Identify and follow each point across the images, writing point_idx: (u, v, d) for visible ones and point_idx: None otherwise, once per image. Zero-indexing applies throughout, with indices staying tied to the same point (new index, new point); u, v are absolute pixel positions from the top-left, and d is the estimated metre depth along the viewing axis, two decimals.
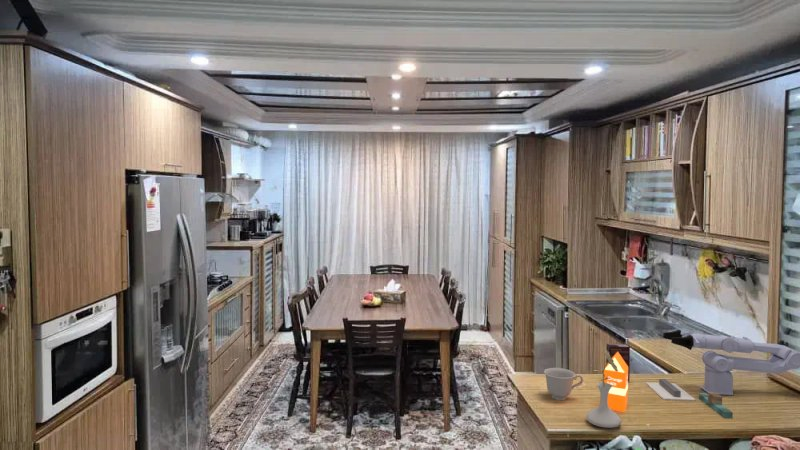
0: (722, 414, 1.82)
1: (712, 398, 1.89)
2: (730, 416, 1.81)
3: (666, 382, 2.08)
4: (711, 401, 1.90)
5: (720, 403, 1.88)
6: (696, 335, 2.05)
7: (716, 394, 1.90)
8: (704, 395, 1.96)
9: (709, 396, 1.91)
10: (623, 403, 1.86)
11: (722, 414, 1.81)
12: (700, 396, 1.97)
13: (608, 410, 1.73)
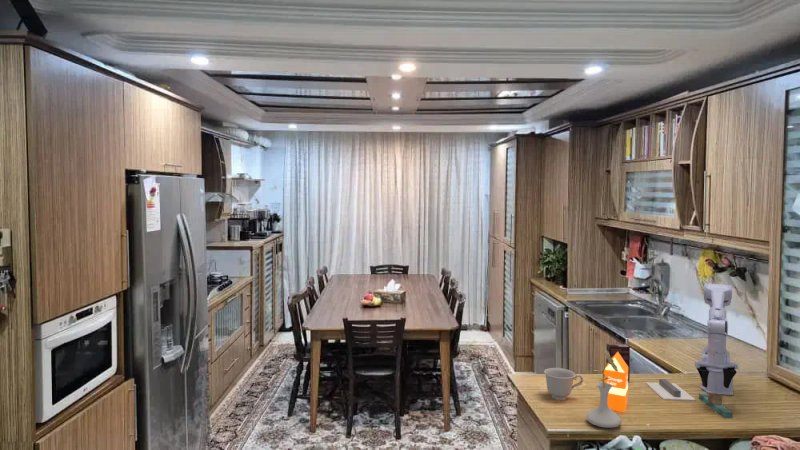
0: (722, 414, 1.82)
1: (712, 398, 1.89)
2: (730, 416, 1.81)
3: (666, 382, 2.08)
4: (711, 401, 1.90)
5: (720, 403, 1.88)
6: (723, 361, 1.86)
7: (716, 394, 1.90)
8: (704, 395, 1.96)
9: (709, 396, 1.91)
10: (623, 403, 1.86)
11: (722, 414, 1.81)
12: (700, 396, 1.97)
13: (608, 410, 1.73)
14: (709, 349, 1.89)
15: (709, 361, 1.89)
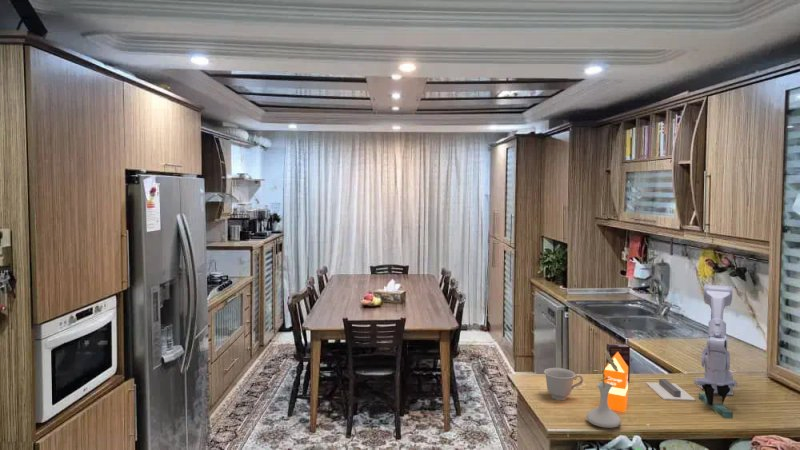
0: (722, 414, 1.82)
1: None
2: (730, 416, 1.81)
3: (666, 382, 2.08)
4: None
5: (720, 403, 1.88)
6: (723, 379, 1.87)
7: (716, 394, 1.90)
8: (704, 395, 1.96)
9: None
10: (623, 403, 1.86)
11: (722, 414, 1.81)
12: (700, 396, 1.97)
13: (608, 410, 1.73)
14: (708, 366, 1.89)
15: (708, 378, 1.89)
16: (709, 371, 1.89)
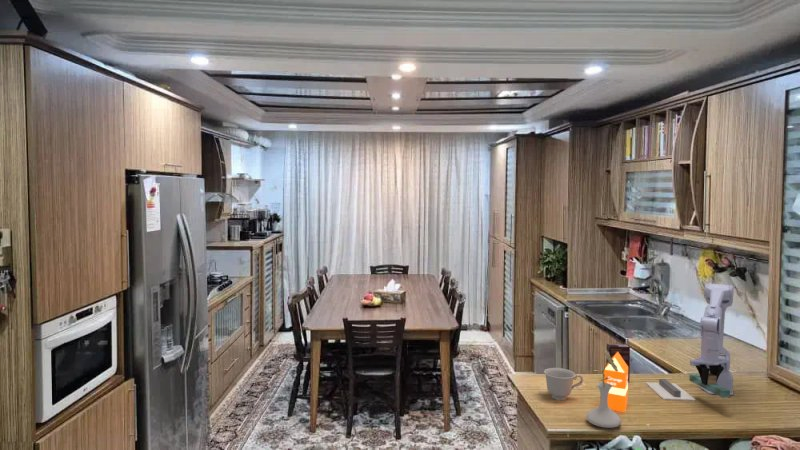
0: (720, 393, 1.83)
1: None
2: (728, 394, 1.83)
3: (666, 382, 2.08)
4: None
5: (714, 382, 1.90)
6: (717, 358, 1.89)
7: (710, 374, 1.92)
8: (695, 376, 1.98)
9: None
10: (623, 403, 1.86)
11: (721, 393, 1.83)
12: (691, 377, 1.99)
13: (608, 410, 1.73)
14: (702, 346, 1.91)
15: (703, 359, 1.90)
16: (704, 351, 1.90)
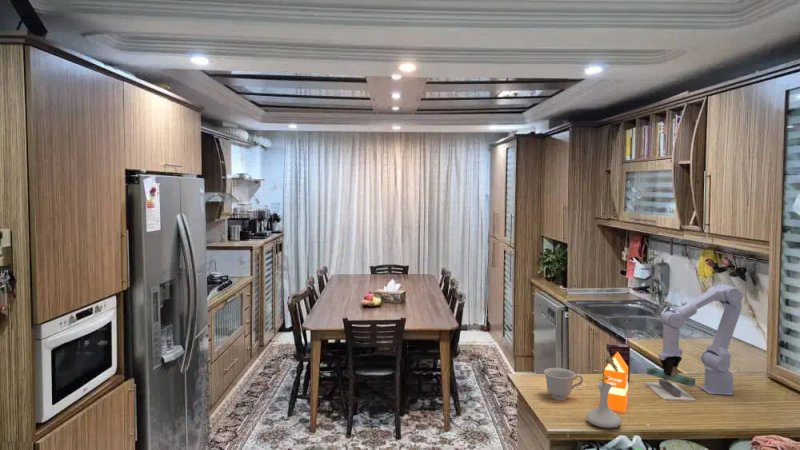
0: (689, 382, 1.98)
1: None
2: (694, 383, 1.98)
3: (666, 382, 2.08)
4: None
5: (676, 373, 2.04)
6: (678, 349, 2.04)
7: None
8: (653, 369, 2.11)
9: None
10: (623, 403, 1.86)
11: (689, 382, 1.97)
12: (650, 370, 2.11)
13: (608, 410, 1.73)
14: None
15: (668, 352, 2.03)
16: (669, 345, 2.03)
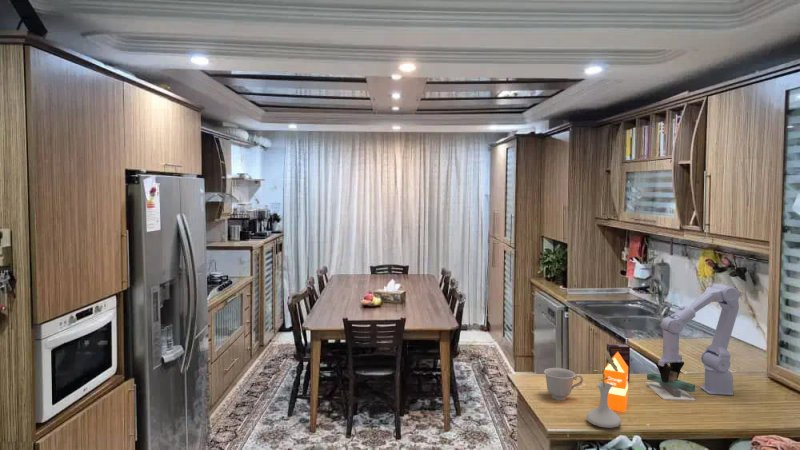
0: (688, 388, 1.98)
1: (670, 376, 2.04)
2: (694, 389, 1.98)
3: None
4: (669, 379, 2.04)
5: (676, 378, 2.04)
6: None
7: (670, 371, 2.05)
8: (653, 374, 2.11)
9: None
10: (623, 403, 1.86)
11: (689, 388, 1.97)
12: (650, 376, 2.11)
13: (608, 410, 1.73)
14: None
15: (668, 358, 2.03)
16: (669, 351, 2.03)
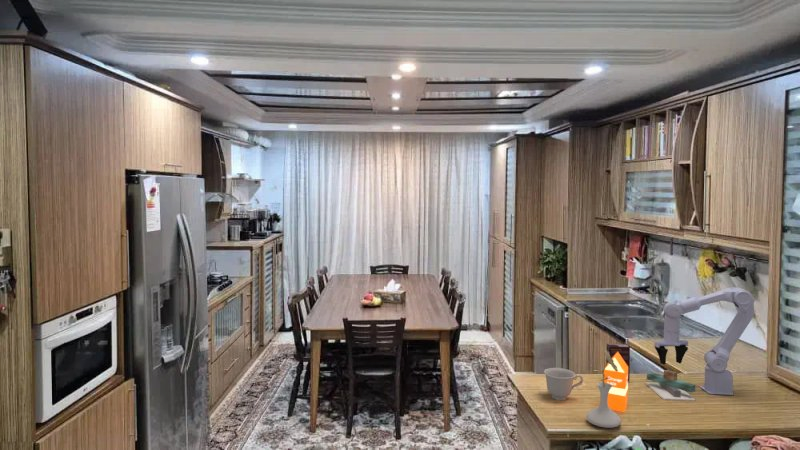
0: (688, 388, 1.98)
1: (670, 376, 2.04)
2: (694, 389, 1.98)
3: None
4: (669, 379, 2.04)
5: (676, 378, 2.04)
6: (678, 339, 2.09)
7: (670, 371, 2.05)
8: (653, 374, 2.11)
9: (665, 374, 2.05)
10: (623, 403, 1.86)
11: (689, 388, 1.97)
12: (650, 376, 2.11)
13: (608, 410, 1.73)
14: None
15: (666, 340, 2.10)
16: (667, 334, 2.10)
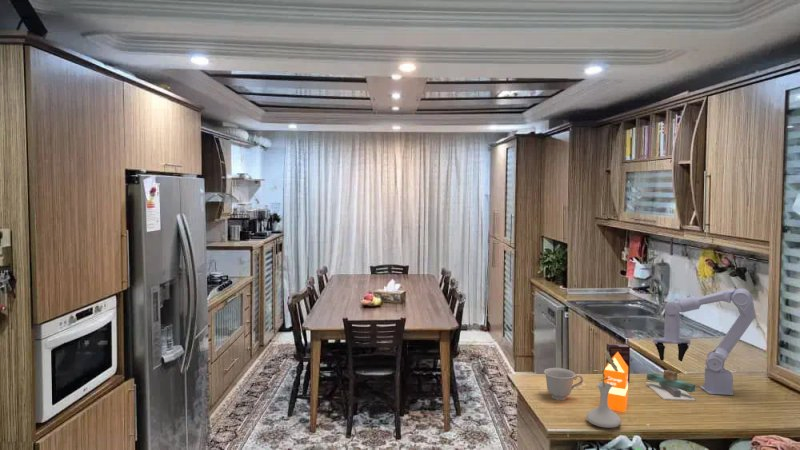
0: (688, 388, 1.98)
1: (670, 376, 2.04)
2: (694, 389, 1.98)
3: None
4: (669, 379, 2.04)
5: (676, 378, 2.04)
6: (677, 337, 2.13)
7: (670, 371, 2.05)
8: (653, 374, 2.11)
9: (665, 374, 2.05)
10: (623, 403, 1.86)
11: (689, 388, 1.97)
12: (650, 376, 2.11)
13: (608, 410, 1.73)
14: None
15: (665, 337, 2.15)
16: (666, 331, 2.15)
